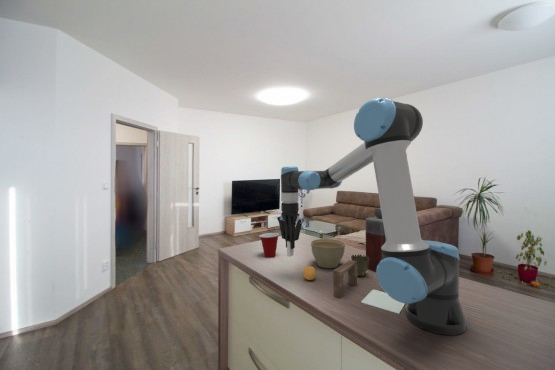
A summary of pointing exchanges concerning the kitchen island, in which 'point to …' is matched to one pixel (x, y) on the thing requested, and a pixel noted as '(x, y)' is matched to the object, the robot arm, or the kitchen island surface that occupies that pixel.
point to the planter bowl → (327, 252)
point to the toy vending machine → (375, 239)
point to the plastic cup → (269, 244)
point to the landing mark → (383, 301)
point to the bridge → (339, 277)
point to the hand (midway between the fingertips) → (290, 255)
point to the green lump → (361, 264)
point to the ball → (309, 273)
